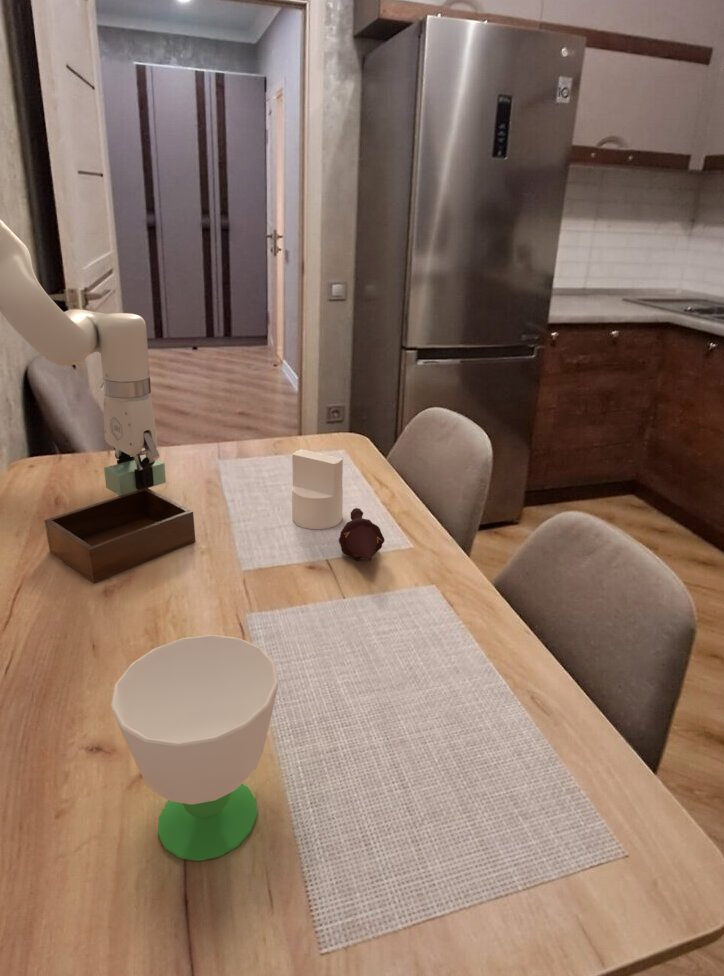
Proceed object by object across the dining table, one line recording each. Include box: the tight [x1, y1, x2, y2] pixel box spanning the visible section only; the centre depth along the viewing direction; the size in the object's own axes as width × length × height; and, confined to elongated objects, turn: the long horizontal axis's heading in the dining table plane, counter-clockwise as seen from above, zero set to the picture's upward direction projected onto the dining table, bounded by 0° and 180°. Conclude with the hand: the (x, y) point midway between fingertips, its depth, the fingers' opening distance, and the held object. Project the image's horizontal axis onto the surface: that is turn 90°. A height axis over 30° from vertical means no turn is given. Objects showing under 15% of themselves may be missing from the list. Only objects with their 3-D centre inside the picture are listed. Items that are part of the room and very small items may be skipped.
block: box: [103, 456, 167, 496], centre depth 122 cm, size 5×9×4 cm, turn 141°
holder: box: [44, 487, 196, 584], centre depth 107 cm, size 14×18×6 cm
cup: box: [110, 634, 279, 862], centre depth 60 cm, size 14×14×16 cm
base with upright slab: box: [291, 448, 344, 530], centre depth 119 cm, size 9×9×12 cm
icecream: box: [338, 507, 385, 562], centre depth 108 cm, size 7×7×15 cm
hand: (136, 482), depth 122 cm, fingers closed on block, 5 cm apart
